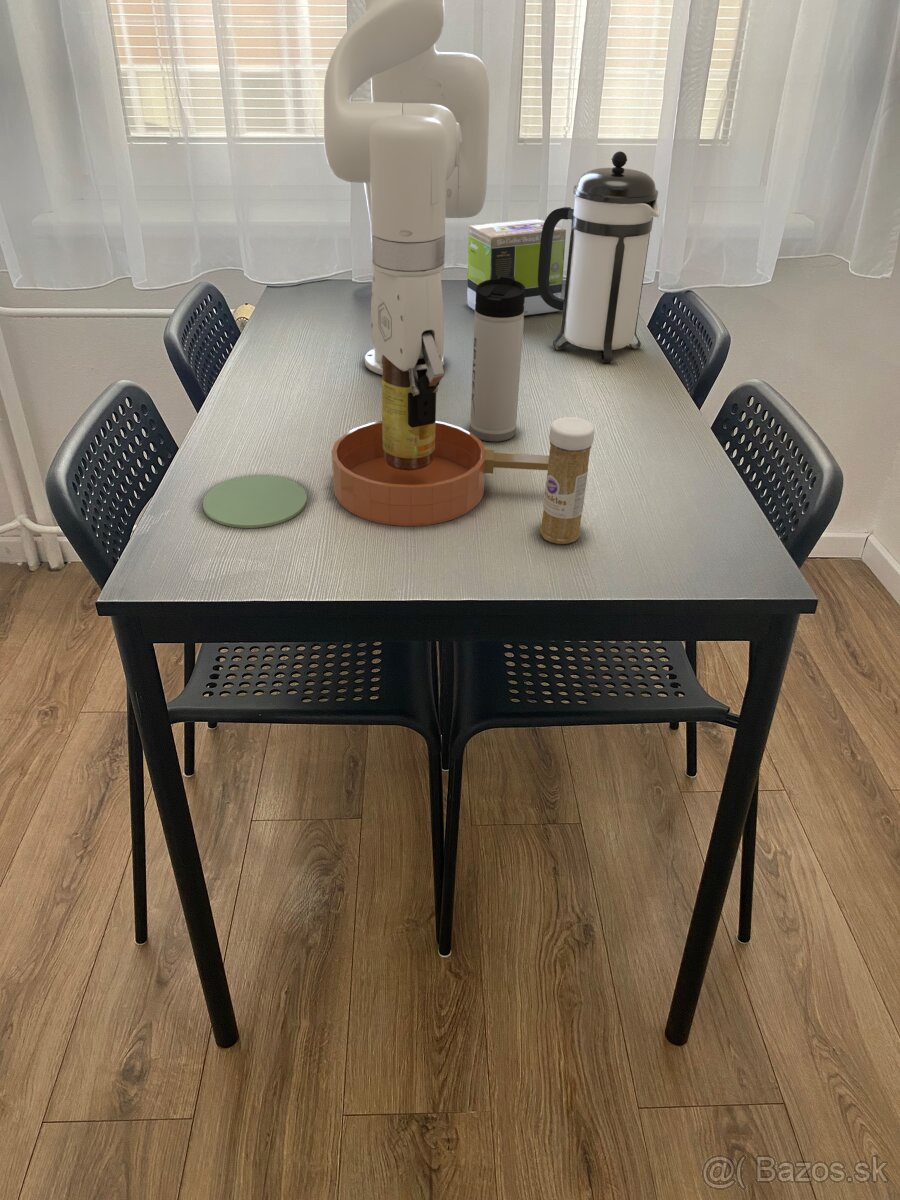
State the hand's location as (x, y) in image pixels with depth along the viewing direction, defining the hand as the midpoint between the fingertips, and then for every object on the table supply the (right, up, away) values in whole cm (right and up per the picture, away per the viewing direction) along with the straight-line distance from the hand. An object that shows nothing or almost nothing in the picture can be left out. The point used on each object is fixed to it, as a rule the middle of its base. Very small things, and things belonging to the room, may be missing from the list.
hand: (408, 410), depth 102 cm
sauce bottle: (0, -5, +4) cm, 7 cm away
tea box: (+17, +32, +63) cm, 73 cm away
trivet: (-18, -10, +1) cm, 21 cm away
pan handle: (+14, -6, +3) cm, 16 cm away
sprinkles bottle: (+17, -15, -3) cm, 23 cm away
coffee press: (+28, +21, +47) cm, 59 cm away
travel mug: (+11, +1, +19) cm, 22 cm away
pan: (0, -8, +5) cm, 10 cm away
